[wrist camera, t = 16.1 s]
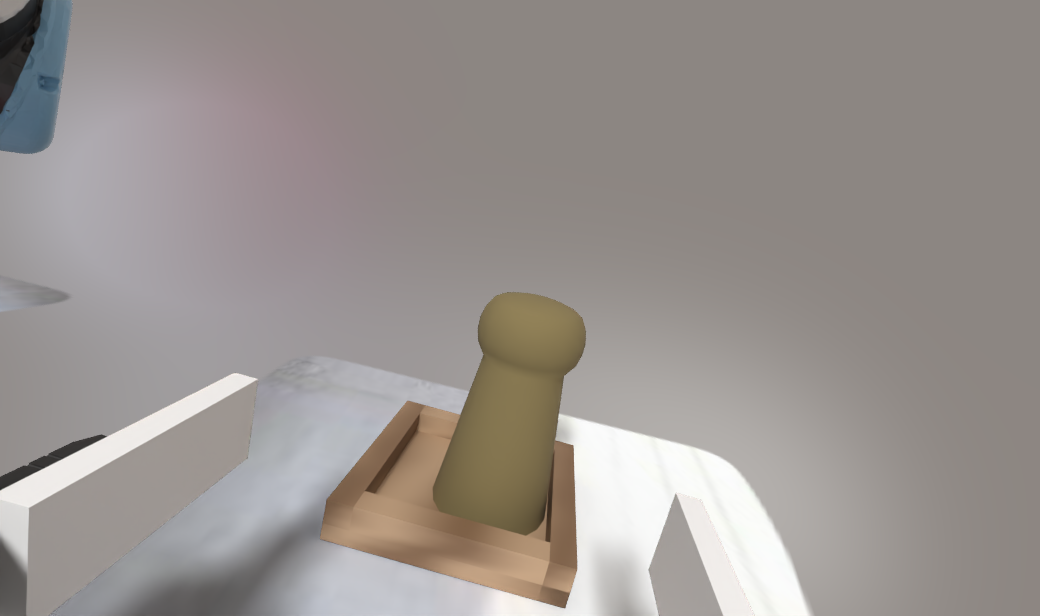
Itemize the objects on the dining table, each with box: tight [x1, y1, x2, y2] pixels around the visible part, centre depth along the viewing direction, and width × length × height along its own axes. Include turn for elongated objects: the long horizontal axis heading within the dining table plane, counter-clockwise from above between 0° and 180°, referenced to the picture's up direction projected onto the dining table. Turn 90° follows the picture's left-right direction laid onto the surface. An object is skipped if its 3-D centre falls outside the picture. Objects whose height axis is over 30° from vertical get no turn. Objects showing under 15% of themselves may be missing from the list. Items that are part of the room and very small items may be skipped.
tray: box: [320, 401, 577, 608], centre depth 26 cm, size 11×11×2 cm
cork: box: [433, 292, 586, 536], centre depth 25 cm, size 6×6×11 cm
